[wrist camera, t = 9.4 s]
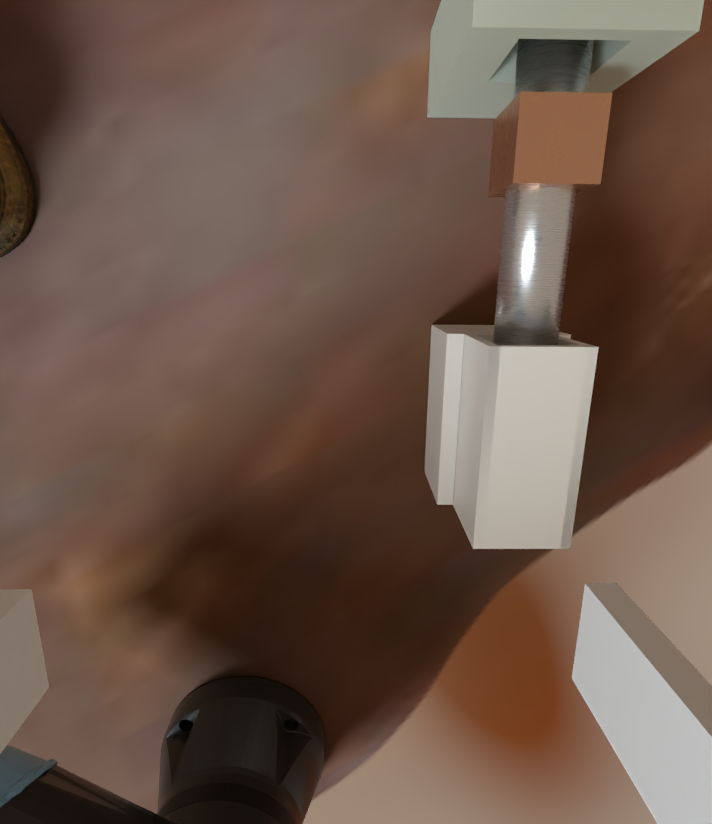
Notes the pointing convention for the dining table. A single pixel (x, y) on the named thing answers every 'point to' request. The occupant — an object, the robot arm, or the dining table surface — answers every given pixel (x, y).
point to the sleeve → (508, 434)
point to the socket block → (544, 19)
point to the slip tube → (543, 181)
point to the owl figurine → (14, 192)
